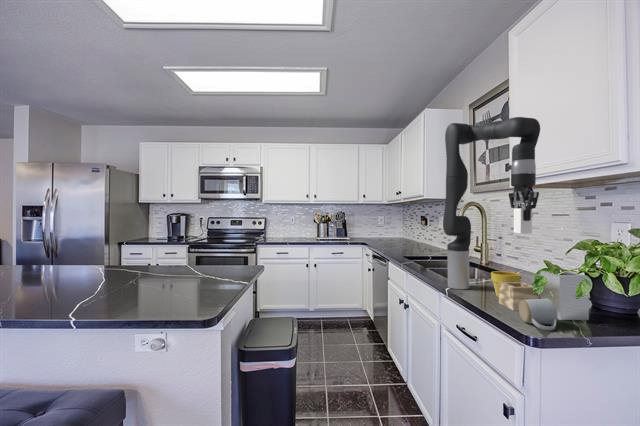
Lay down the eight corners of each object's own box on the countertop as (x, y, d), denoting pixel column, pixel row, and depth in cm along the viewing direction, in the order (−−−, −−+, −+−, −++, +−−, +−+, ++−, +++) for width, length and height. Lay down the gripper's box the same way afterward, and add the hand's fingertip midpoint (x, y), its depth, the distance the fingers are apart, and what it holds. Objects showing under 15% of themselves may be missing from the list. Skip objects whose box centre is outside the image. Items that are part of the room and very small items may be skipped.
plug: (513, 232, 116) (513, 208, 116) (526, 232, 116) (526, 208, 116) (520, 233, 112) (520, 208, 112) (534, 233, 112) (534, 208, 112)
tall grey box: (540, 311, 109) (540, 271, 109) (566, 310, 109) (566, 270, 109) (560, 320, 100) (559, 276, 100) (588, 319, 100) (588, 276, 100)
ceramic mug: (517, 318, 102) (516, 295, 102) (544, 319, 101) (544, 295, 101) (534, 331, 92) (534, 305, 92) (565, 332, 91) (565, 306, 91)
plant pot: (512, 293, 132) (512, 270, 132) (526, 300, 122) (525, 275, 122) (487, 293, 133) (486, 270, 133) (498, 300, 123) (498, 275, 123)
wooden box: (499, 303, 119) (498, 282, 119) (522, 302, 119) (522, 282, 119) (513, 310, 110) (513, 287, 110) (538, 310, 110) (538, 287, 110)
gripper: (501, 175, 120) (501, 219, 121) (525, 171, 106) (525, 221, 107) (520, 174, 120) (520, 219, 121) (547, 170, 106) (547, 221, 107)
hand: (522, 220), depth 114 cm, fingers closed on plug, 4 cm apart
